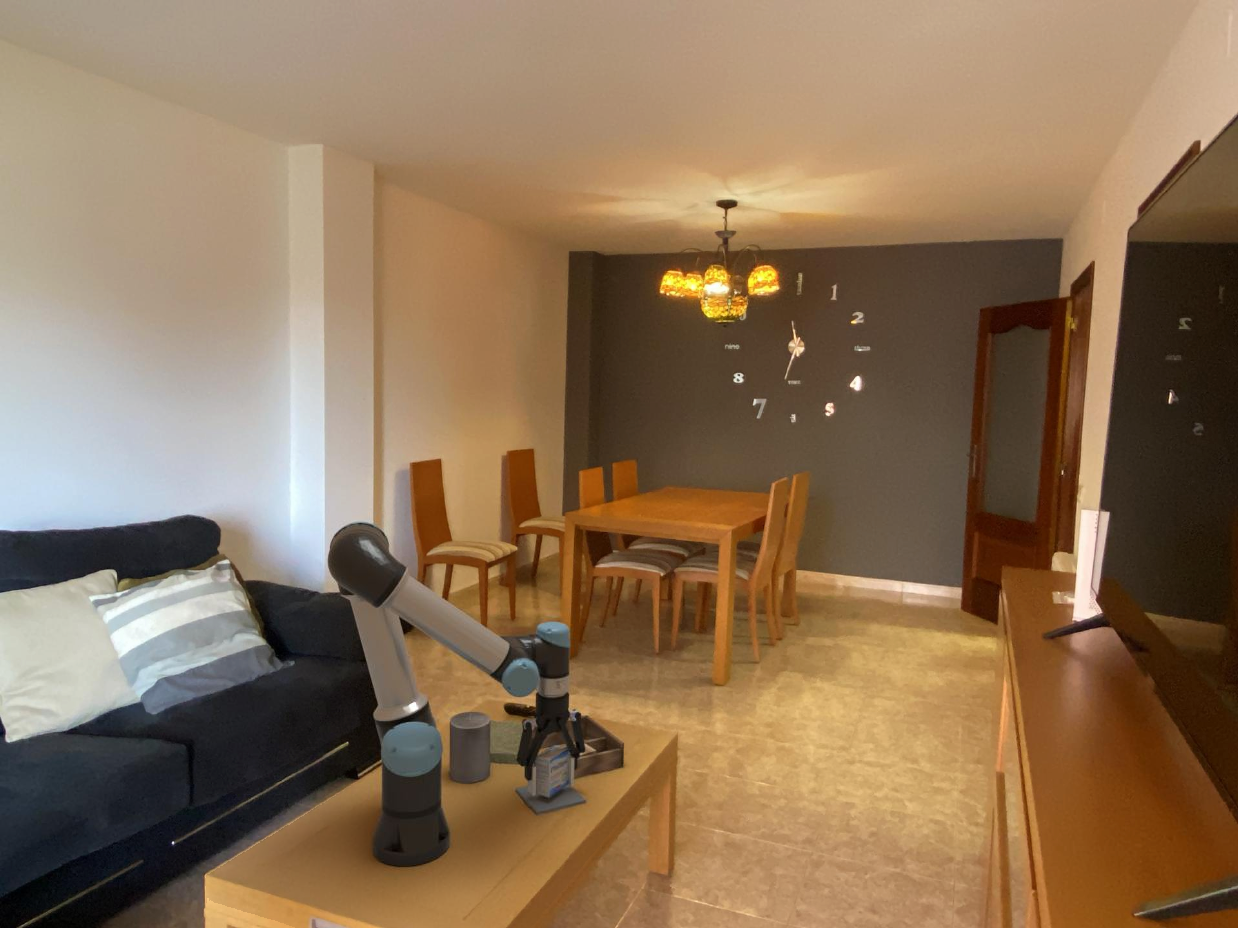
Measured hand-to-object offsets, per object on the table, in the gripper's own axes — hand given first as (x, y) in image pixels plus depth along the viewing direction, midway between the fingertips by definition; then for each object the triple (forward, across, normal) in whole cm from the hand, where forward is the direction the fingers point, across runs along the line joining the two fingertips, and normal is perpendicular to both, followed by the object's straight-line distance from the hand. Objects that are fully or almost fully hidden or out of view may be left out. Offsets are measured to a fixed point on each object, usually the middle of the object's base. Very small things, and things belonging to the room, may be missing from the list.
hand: (550, 787), depth 190 cm
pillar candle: (+2, -13, +18) cm, 22 cm away
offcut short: (0, +13, +10) cm, 16 cm away
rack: (+2, +14, +15) cm, 21 cm away
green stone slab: (+3, -1, +30) cm, 31 cm away
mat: (+2, 0, 0) cm, 2 cm away
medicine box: (0, 0, 0) cm, 0 cm away
